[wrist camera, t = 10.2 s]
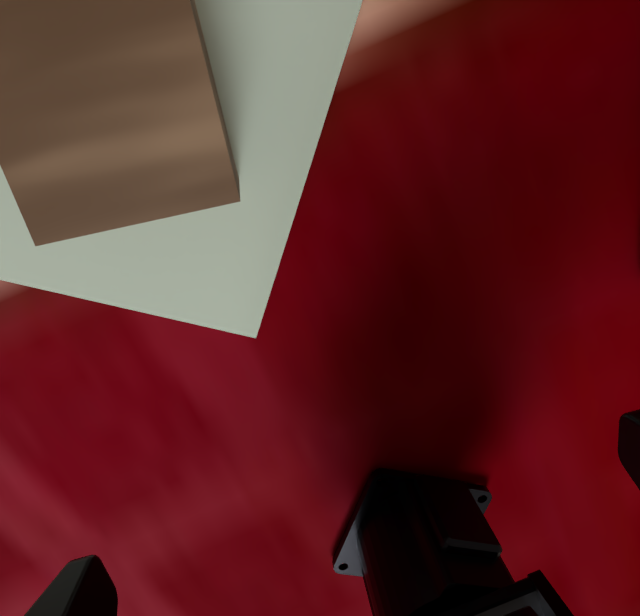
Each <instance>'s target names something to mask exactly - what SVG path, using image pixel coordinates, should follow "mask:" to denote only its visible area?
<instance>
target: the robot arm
mask: <svg viewBox="0 0 640 616" xmlns="http://www.w3.org/2000/svg"><path fill="white" fill-rule="evenodd" d="M618 455H619V458H620V461H621V463H622V465H623V466H624V468H625V469H626V471H627V472H628V474H629V475H630V477H631V478H632V480H633V481H634V482H635V484H636V485H637V487H638V488H639V490H640V409H639V410H635V411H631V412H627V413H624V414H623V415H622V416H621V417H620V420H619V436H618ZM381 478H384V479H383V480H381V481H378V480H379V479H381ZM480 496H481V497H480ZM491 499H492V495H491V493H490V492H489V490H488V489H487V487H485V486H481V485H476V484H470V483H465V482H461V481H456V480H450V479H444V478H439V477H433V476H427V475H419V474H413V473H407V472H401V471H396V470H390V469H384V468H379V469H376V470H374V471H373V472H372V473H371V475H370V477H369V479H368V481H367V483H366V486H365V488H364V490H363V492H362V495H361V497H360V499H359V501H358V504H357V506H356V508H355V510H354V513H353V515H352V517H351V519H350V522H349V524H348V526H347V528H346V531H345V533H344V535H343V537H342V540H341V542H340V544H339V546H338V549H337V551H336V553H335V555H334V558H333V561H332V563H333V568H334V571H335V572H336V573H339V574H346V575H354V576H363V579H364V583H365V587H366V591H367V595H368V599H369V603H370V607H371V610H372V614H373V616H574V615H573V614H572V613H571V611H570V610H569V609H568V607H567V606H566V604H565V603H564V602H563V600H562V599H561V598H560V596H559V595H558V594H557V592H556V591H555V590H554V588H553V587H552V586H551V584H550V583H549V581H548V580H547V579H546V577H545V576H544V575H543V573H542V572H541V571H540V570H537V571H535V572H533V573H530V574H528V575H527V576H528V577H527V578H524V579H522V580H520V581H517V582H514V580H513V578H512V576H511V574H510V573H509V571H508V569H507V567H506V565H505V564H504V562H503V560H502V558H501V556H500V554H501V552H502V547H501V545H500V543H499V542H498V540H497V538H496V536H495V535H494V533H493V531H492V529H491V528H490V526H489V524H488V522H487V520H486V519H485V517H484V515H483V514H484V512H485V510H486V509H487V507H488V505H489V503H490V501H491ZM342 563H343V564H342ZM117 606H118V598H117V591H116V588H115V585H114V583H113V582H112V580H111V578H110V576H109V574H108V572H107V570H106V569H105V567H104V565H103V563H102V561H101V560H100V558H99V557H98V556H96V555H89V556H85V557H82V558H78V559H74V560H72V561H70V562H69V563H68V564H67V565H66V566H65V567H64V568H63V569H62V570H61V572H60V573H59V574H58V575H57V576H56V578H55V579H54V580H53V581H52V583H51V584H50V585H49V586H48V587H47V589H46V590H45V591H44V592H43V593H42V595H41V596H40V597H39V598H38V599H37V601H36V602H35V603H34V604H33V605H32V607H31V608H30V609H29V610H28V611H27V613H26V614H25V615H24V616H117Z"/></svg>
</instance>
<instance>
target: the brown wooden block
mask: <svg viewBox="0 0 640 616" xmlns="http://www.w3.org/2000/svg"><path fill="white" fill-rule="evenodd" d="M0 166H1V168H2V170H3V173H4V175H5V177H6V180H7V182H8V184H9V187H10V189H11V191H12V194H13V196H14V198H15V200H16V203H17V205H18V207H19V210H20V212H21V214H22V217H23V219H24V221H25V224H26V226H27V228H28V230H29V233H30V235H31V237H32V240H33V242H34V244H35V246H40V245H44V244H49V243H53V242H58V241H63V240H67V239H72V238H76V237H81V236H85V235H90V234H94V233H99V232H104V231H108V230H113V229H117V228H122V227H126V226H131V225H135V224H140V223H145V222H149V221H154V220H158V219H163V218H167V217H172V216H177V215H181V214H186V213H190V212H195V211H199V210H204V209H208V208H213V207H218V206H222V205H227V204H231V203H236V202H240V185H239V177H238V173H237V169H236V165H235V161H234V157H233V153H232V149H231V145H230V141H229V137H228V133H227V129H226V125H225V121H224V117H223V113H222V108H221V104H220V100H219V96H218V92H217V88H216V84H215V80H214V76H213V72H212V68H211V64H210V60H209V56H208V52H207V48H206V44H205V40H204V36H203V32H202V28H201V24H200V20H199V16H198V12H197V8H196V4H195V0H0Z"/></svg>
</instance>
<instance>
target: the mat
mask: <svg viewBox="0 0 640 616" xmlns="http://www.w3.org/2000/svg"><path fill="white" fill-rule="evenodd" d="M362 1H363V0H195V4H196V8H197V12H198V16H199V20H200V24H201V28H202V32H203V36H204V40H205V44H206V48H207V52H208V56H209V60H210V64H211V68H212V72H213V76H214V80H215V84H216V88H217V92H218V96H219V100H220V104H221V108H222V113H223V117H224V121H225V125H226V129H227V133H228V137H229V141H230V145H231V149H232V153H233V157H234V161H235V165H236V169H237V173H238V177H239V185H240V202H236V203H231V204H227V205H222V206H218V207H213V208H208V209H204V210H199V211H195V212H190V213H186V214H181V215H177V216H172V217H167V218H163V219H158V220H154V221H149V222H145V223H140V224H135V225H131V226H126V227H122V228H117V229H113V230H108V231H104V232H99V233H94V234H90V235H85V236H81V237H76V238H72V239H67V240H63V241H58V242H53V243H49V244H44V245H40V246H35V244H34V242H33V240H32V237H31V235H30V233H29V230H28V228H27V226H26V224H25V221H24V219H23V217H22V214H21V212H20V210H19V207H18V205H17V203H16V200H15V198H14V196H13V194H12V191H11V189H10V187H9V184H8V182H7V180H6V177H5V175H4V173H3V170H2V168H1V166H0V280H3V281H7V282H12V283H16V284H21V285H25V286H29V287H34V288H38V289H43V290H47V291H51V292H56V293H60V294H64V295H69V296H73V297H78V298H82V299H86V300H91V301H95V302H99V303H104V304H108V305H113V306H117V307H121V308H126V309H130V310H134V311H139V312H143V313H148V314H152V315H156V316H161V317H165V318H170V319H174V320H178V321H183V322H187V323H191V324H196V325H200V326H205V327H209V328H213V329H218V330H222V331H226V332H231V333H235V334H240V335H244V336H248V337H253V338H256V336H257V333H258V330H259V327H260V324H261V321H262V317H263V314H264V311H265V308H266V305H267V302H268V298H269V295H270V292H271V289H272V286H273V283H274V279H275V276H276V273H277V270H278V267H279V264H280V260H281V257H282V254H283V251H284V248H285V245H286V241H287V238H288V235H289V232H290V229H291V226H292V222H293V219H294V216H295V213H296V210H297V207H298V203H299V200H300V197H301V194H302V191H303V188H304V185H305V181H306V178H307V175H308V172H309V169H310V166H311V162H312V159H313V156H314V153H315V150H316V147H317V143H318V140H319V137H320V134H321V131H322V128H323V124H324V121H325V118H326V115H327V112H328V109H329V105H330V102H331V99H332V96H333V93H334V90H335V86H336V83H337V80H338V77H339V74H340V71H341V67H342V64H343V61H344V58H345V55H346V52H347V48H348V45H349V42H350V39H351V36H352V33H353V29H354V26H355V23H356V20H357V17H358V14H359V11H360V7H361V4H362Z"/></svg>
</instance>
